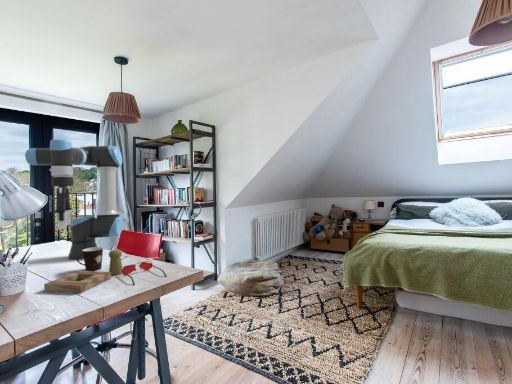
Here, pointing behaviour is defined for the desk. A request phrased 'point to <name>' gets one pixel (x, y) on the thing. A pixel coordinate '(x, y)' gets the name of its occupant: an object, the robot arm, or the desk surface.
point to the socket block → (77, 282)
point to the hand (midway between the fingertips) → (64, 227)
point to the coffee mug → (92, 258)
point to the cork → (115, 262)
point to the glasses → (143, 265)
